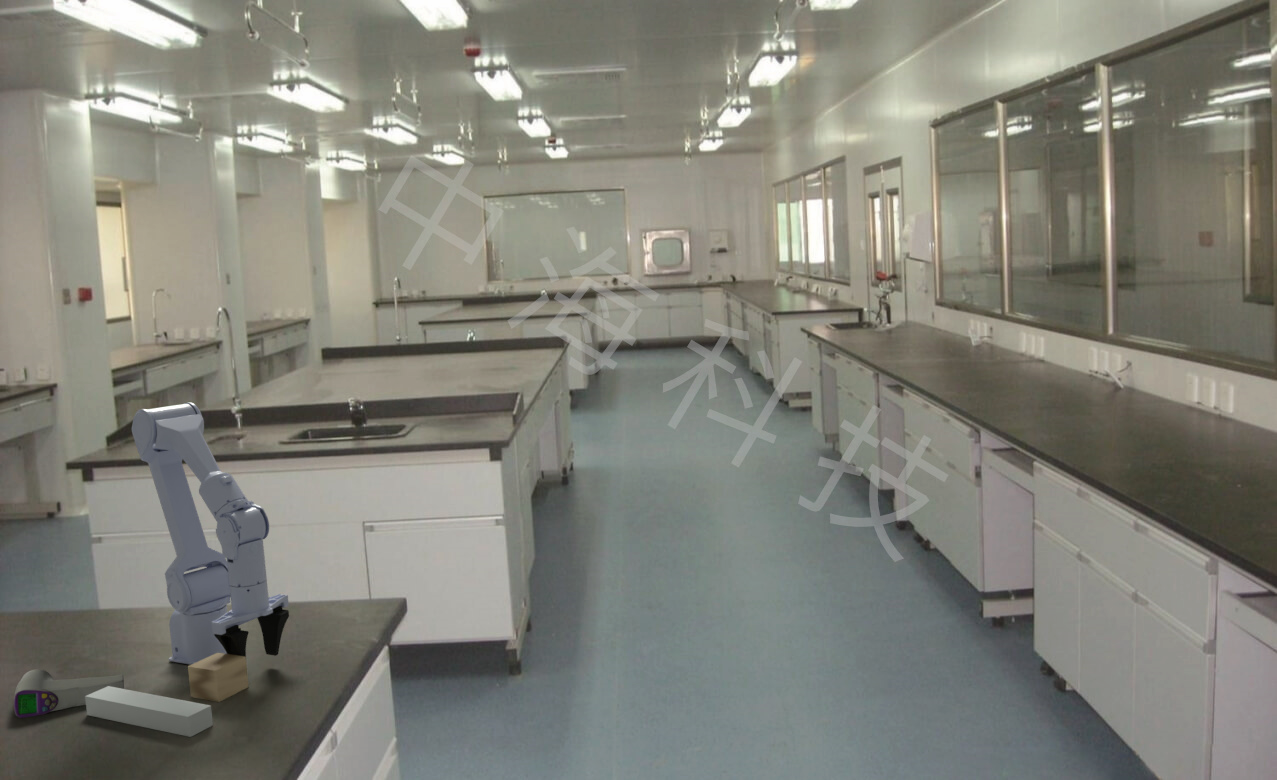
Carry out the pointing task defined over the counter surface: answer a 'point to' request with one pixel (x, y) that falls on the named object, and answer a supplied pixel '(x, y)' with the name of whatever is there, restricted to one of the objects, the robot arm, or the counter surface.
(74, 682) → the infrared thermometer
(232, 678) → the block
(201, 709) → the board
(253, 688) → the counter surface
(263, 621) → the robot arm
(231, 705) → the counter surface
